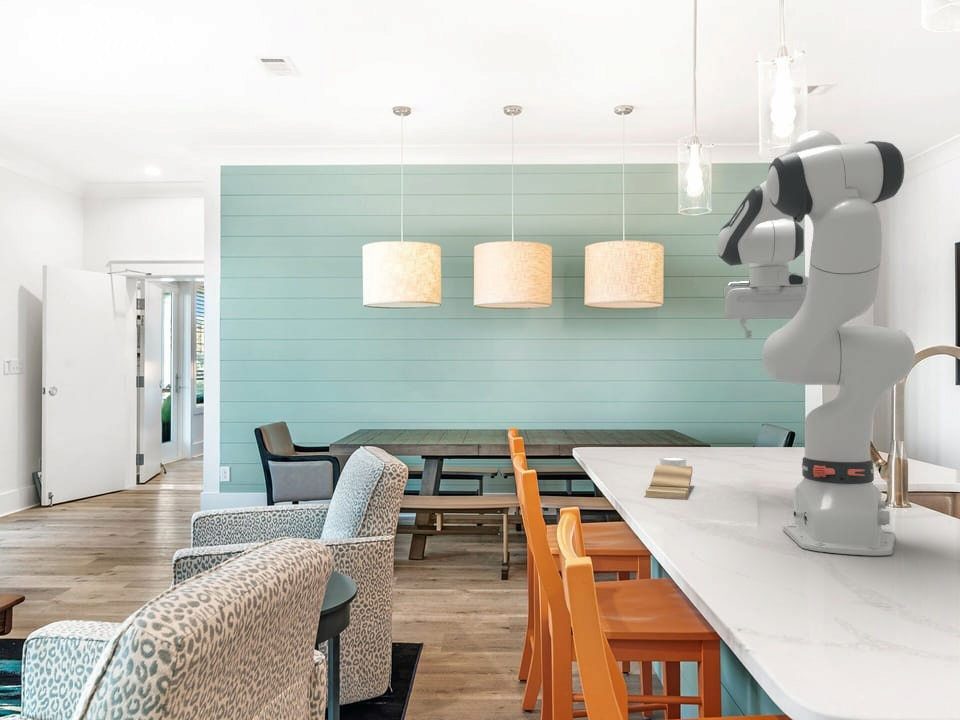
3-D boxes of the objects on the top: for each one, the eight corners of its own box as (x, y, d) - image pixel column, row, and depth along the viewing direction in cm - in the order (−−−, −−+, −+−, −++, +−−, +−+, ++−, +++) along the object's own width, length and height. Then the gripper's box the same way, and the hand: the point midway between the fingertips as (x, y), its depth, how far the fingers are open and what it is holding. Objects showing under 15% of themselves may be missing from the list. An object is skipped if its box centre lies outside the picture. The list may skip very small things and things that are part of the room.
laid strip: (685, 499, 167) (685, 491, 167) (645, 497, 170) (645, 489, 170) (688, 494, 173) (688, 487, 173) (650, 492, 177) (649, 485, 177)
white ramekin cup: (658, 482, 197) (658, 456, 197) (684, 483, 196) (684, 457, 196) (661, 486, 190) (661, 460, 190) (688, 487, 189) (688, 460, 189)
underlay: (687, 504, 167) (687, 499, 167) (643, 501, 170) (643, 497, 170) (694, 489, 185) (694, 485, 185) (655, 487, 189) (655, 483, 189)
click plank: (688, 493, 174) (688, 486, 173) (650, 491, 177) (649, 485, 177) (692, 471, 185) (692, 465, 184) (656, 470, 188) (655, 464, 187)
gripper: (722, 281, 176) (723, 338, 176) (815, 277, 168) (816, 336, 168) (724, 283, 181) (724, 338, 182) (813, 279, 174) (814, 336, 174)
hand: (769, 337), depth 175 cm, fingers open, 8 cm apart
